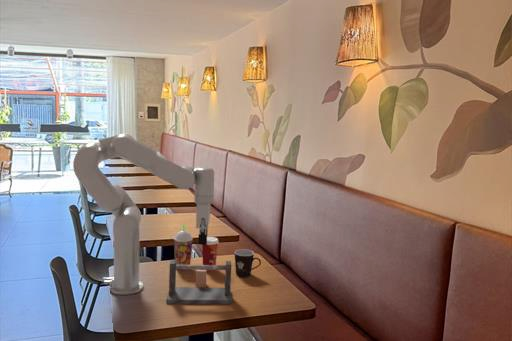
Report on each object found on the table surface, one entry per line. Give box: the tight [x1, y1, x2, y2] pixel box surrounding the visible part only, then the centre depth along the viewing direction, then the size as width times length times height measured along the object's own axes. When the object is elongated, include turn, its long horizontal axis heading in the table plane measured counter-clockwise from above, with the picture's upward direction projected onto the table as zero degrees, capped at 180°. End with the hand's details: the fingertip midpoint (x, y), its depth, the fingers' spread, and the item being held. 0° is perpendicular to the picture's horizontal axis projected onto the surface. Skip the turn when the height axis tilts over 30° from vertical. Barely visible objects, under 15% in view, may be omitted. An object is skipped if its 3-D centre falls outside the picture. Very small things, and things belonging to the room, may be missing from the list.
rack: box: [166, 259, 232, 305], centre depth 164 cm, size 24×11×14 cm, turn 95°
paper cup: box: [201, 236, 219, 272], centre depth 193 cm, size 8×8×14 cm
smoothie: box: [173, 223, 194, 271], centre depth 192 cm, size 8×8×20 cm
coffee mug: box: [234, 248, 262, 278], centre depth 188 cm, size 12×9×10 cm
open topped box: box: [195, 270, 207, 287], centre depth 175 cm, size 4×5×8 cm
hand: (203, 240), depth 172 cm, fingers open, 9 cm apart
